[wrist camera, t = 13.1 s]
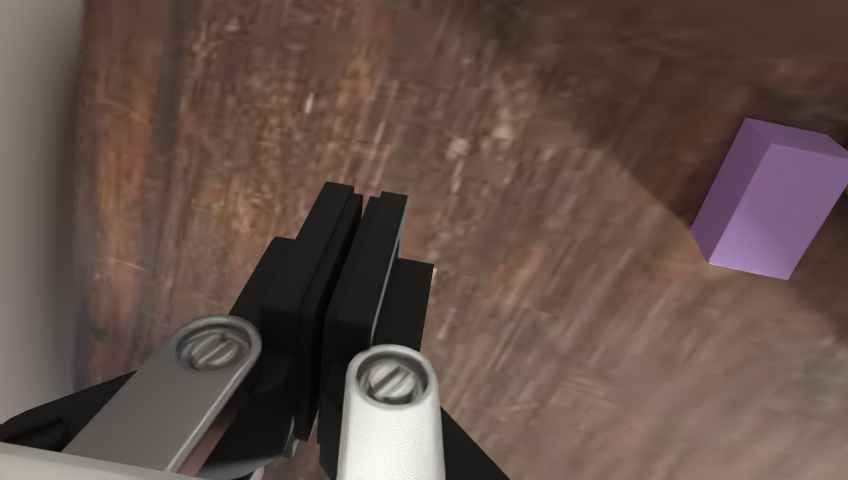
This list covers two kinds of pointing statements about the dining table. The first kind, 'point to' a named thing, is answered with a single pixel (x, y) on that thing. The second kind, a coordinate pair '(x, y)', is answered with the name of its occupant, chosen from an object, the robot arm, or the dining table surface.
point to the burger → (847, 184)
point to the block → (770, 198)
